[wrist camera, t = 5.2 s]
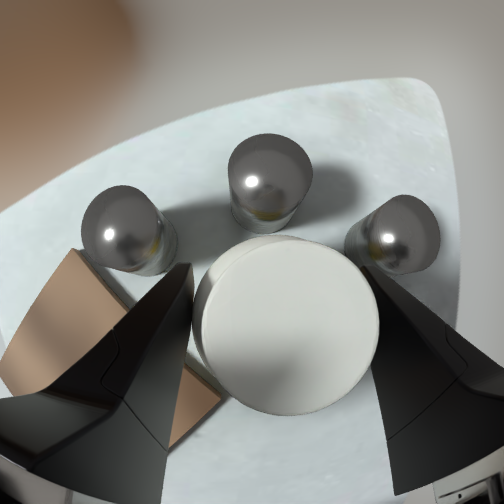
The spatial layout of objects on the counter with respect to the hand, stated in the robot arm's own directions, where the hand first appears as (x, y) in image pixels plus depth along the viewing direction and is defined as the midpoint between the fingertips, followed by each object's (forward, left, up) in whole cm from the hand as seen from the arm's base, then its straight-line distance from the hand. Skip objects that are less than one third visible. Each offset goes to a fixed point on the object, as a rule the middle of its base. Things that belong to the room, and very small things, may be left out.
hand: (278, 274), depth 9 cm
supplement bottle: (-1, -1, -7) cm, 7 cm away
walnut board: (-12, +4, -7) cm, 14 cm away
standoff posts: (+3, +2, -7) cm, 7 cm away
